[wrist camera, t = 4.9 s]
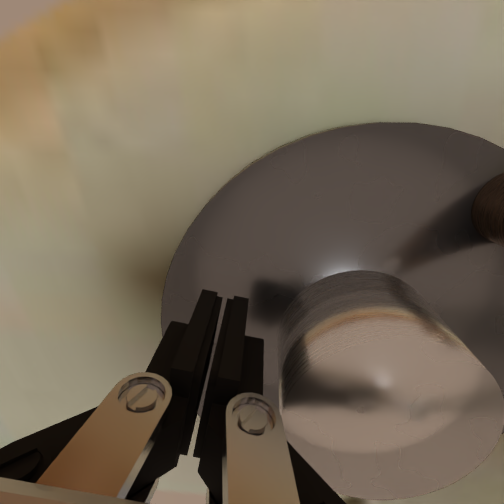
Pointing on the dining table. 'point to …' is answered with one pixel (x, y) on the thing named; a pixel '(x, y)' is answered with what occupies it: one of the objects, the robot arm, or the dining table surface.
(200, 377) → the robot arm
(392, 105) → the dining table surface
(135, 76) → the dining table surface
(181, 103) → the dining table surface
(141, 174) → the dining table surface
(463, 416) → the cover
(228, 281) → the turntable
